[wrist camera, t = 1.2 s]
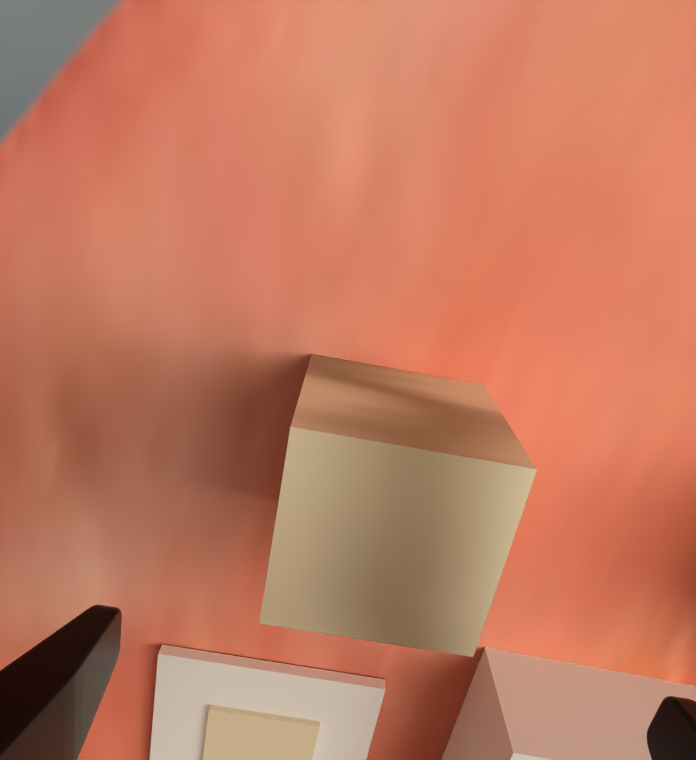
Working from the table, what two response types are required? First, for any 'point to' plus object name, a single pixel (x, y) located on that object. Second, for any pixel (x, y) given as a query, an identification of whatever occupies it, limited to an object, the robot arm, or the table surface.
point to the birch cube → (394, 508)
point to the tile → (259, 709)
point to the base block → (556, 711)
